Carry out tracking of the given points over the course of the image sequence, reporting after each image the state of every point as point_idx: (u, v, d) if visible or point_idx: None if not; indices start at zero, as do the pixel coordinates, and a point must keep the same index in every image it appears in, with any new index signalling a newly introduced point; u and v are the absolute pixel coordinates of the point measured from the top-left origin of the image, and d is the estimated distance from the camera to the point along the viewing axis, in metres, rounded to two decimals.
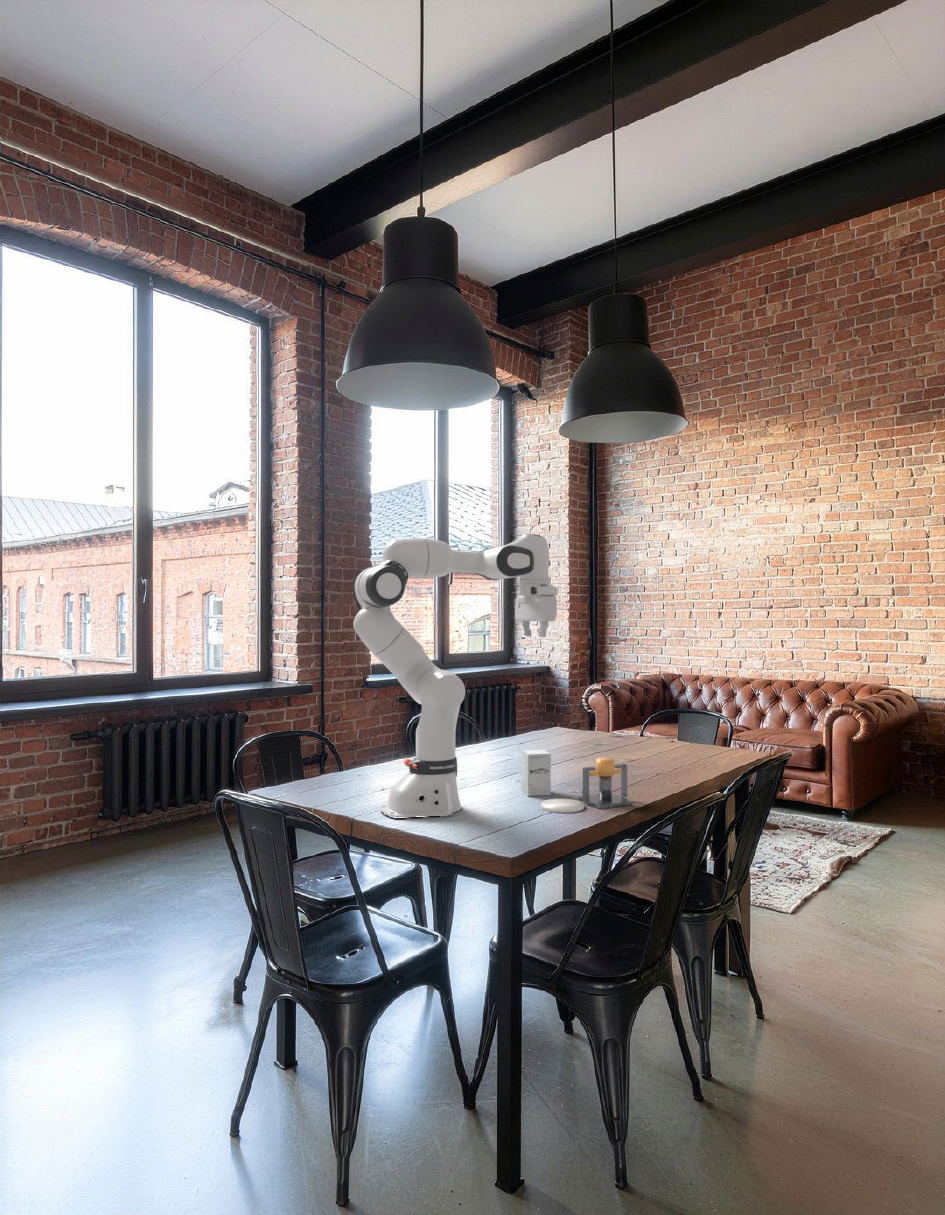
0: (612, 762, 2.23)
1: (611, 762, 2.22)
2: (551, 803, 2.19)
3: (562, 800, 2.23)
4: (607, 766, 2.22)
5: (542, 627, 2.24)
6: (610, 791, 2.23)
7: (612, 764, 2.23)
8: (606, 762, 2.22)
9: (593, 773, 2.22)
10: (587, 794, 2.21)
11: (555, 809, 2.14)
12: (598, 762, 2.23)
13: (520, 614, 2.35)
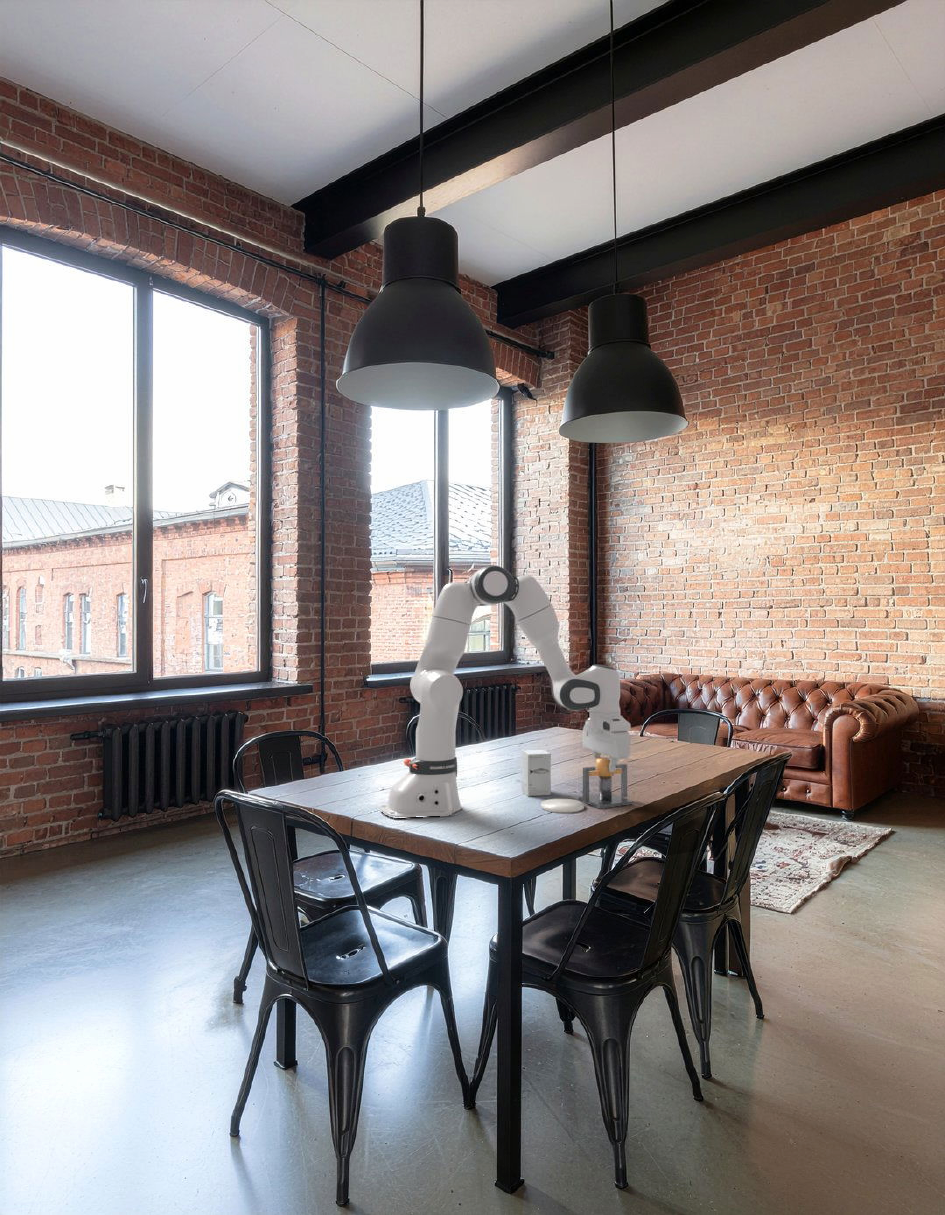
0: None
1: None
2: (551, 803, 2.19)
3: (562, 800, 2.23)
4: None
5: (612, 762, 2.20)
6: (610, 791, 2.23)
7: None
8: (606, 762, 2.22)
9: (593, 773, 2.22)
10: (587, 794, 2.21)
11: (555, 809, 2.14)
12: (598, 762, 2.23)
13: (589, 744, 2.29)
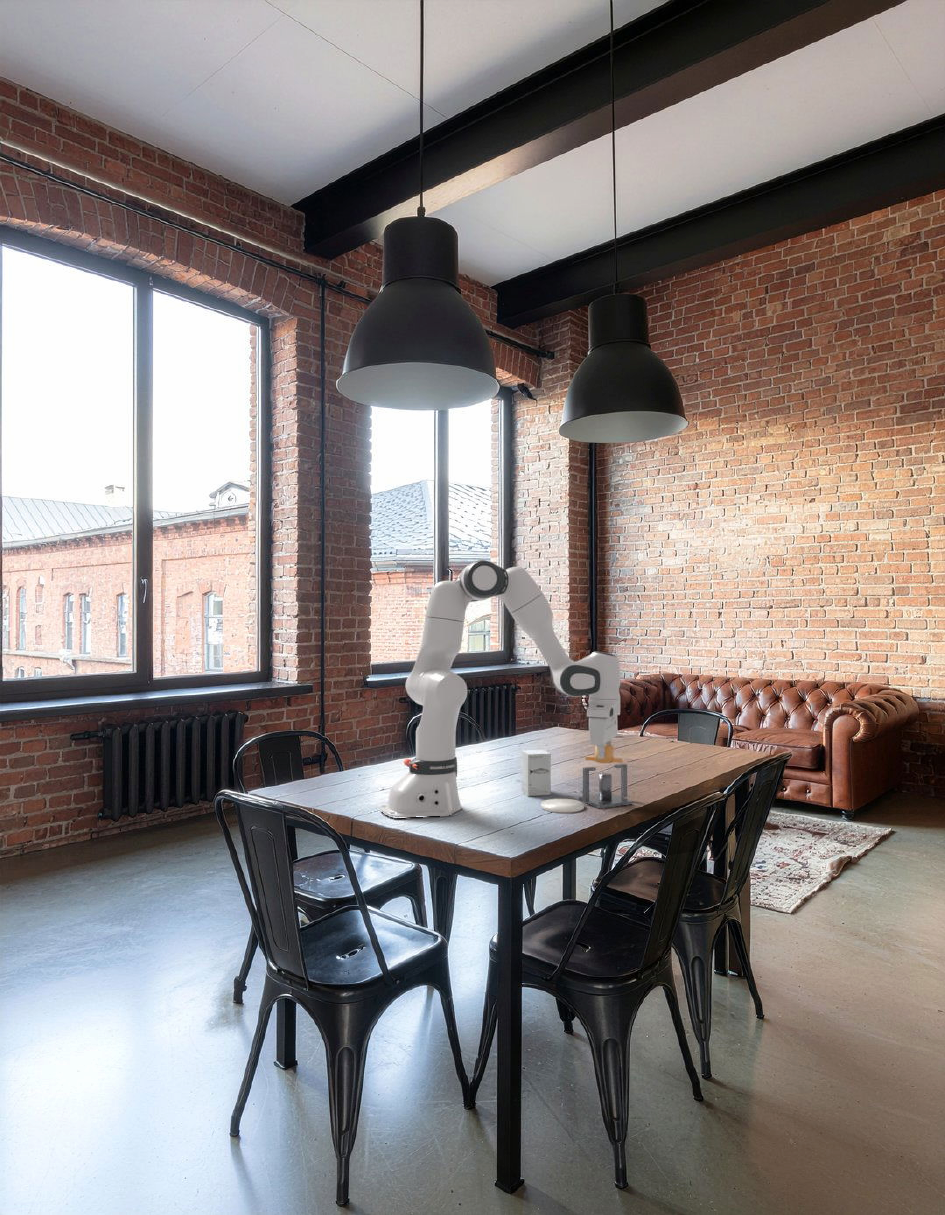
0: (605, 749, 2.22)
1: None
2: (551, 803, 2.19)
3: (562, 800, 2.23)
4: None
5: (598, 748, 2.20)
6: (610, 791, 2.23)
7: (605, 751, 2.22)
8: None
9: (588, 757, 2.25)
10: (587, 794, 2.21)
11: (555, 809, 2.14)
12: (595, 748, 2.25)
13: None
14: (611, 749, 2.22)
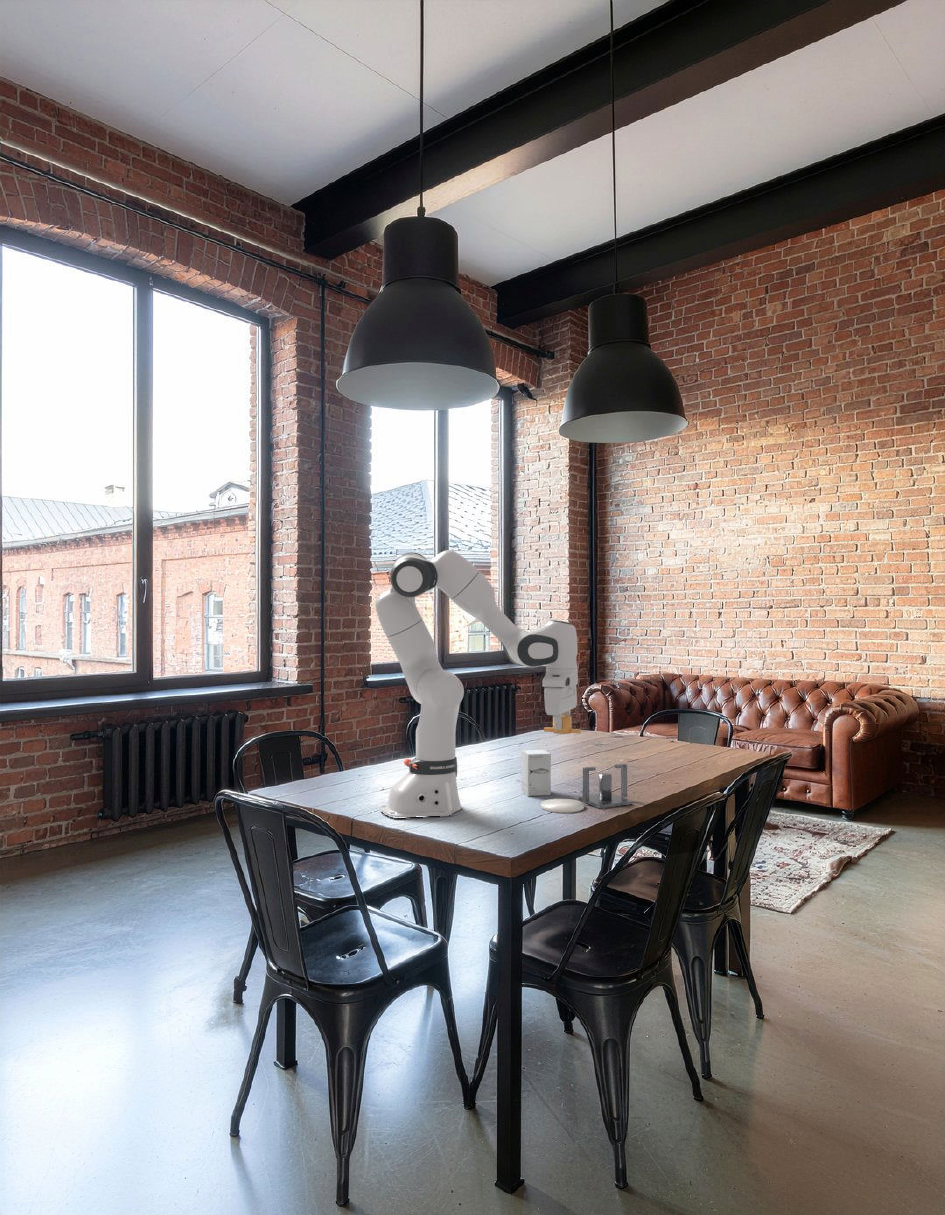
0: (563, 720, 2.17)
1: None
2: (551, 803, 2.19)
3: (562, 800, 2.23)
4: None
5: (555, 719, 2.15)
6: (610, 791, 2.23)
7: (563, 722, 2.17)
8: None
9: (546, 729, 2.20)
10: (587, 794, 2.21)
11: (555, 809, 2.14)
12: None
13: None
14: (569, 720, 2.17)
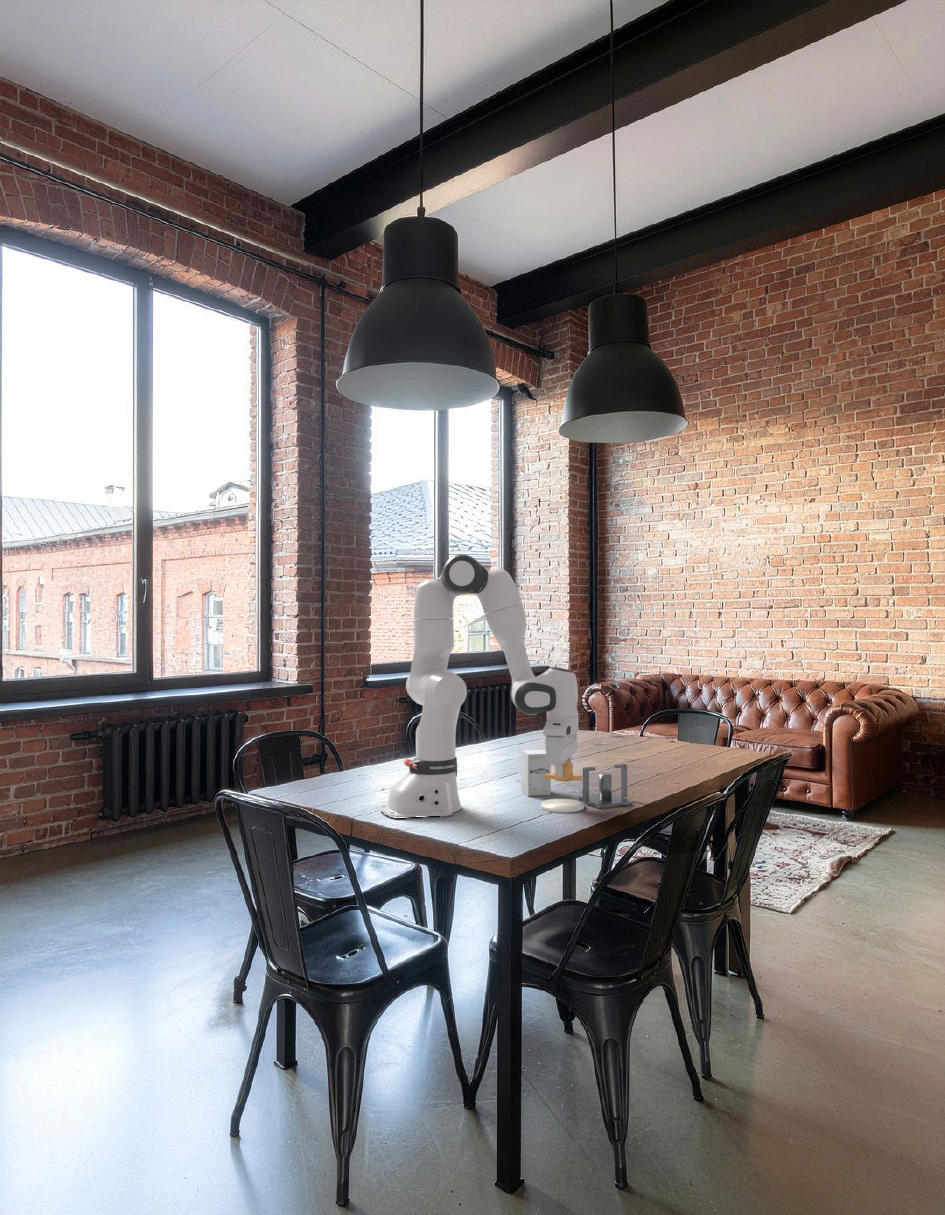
0: (564, 767, 2.17)
1: None
2: (551, 803, 2.19)
3: (562, 800, 2.23)
4: None
5: (556, 767, 2.15)
6: (610, 791, 2.23)
7: (564, 769, 2.17)
8: None
9: (548, 776, 2.20)
10: (587, 794, 2.21)
11: (555, 809, 2.14)
12: None
13: None
14: (570, 767, 2.17)
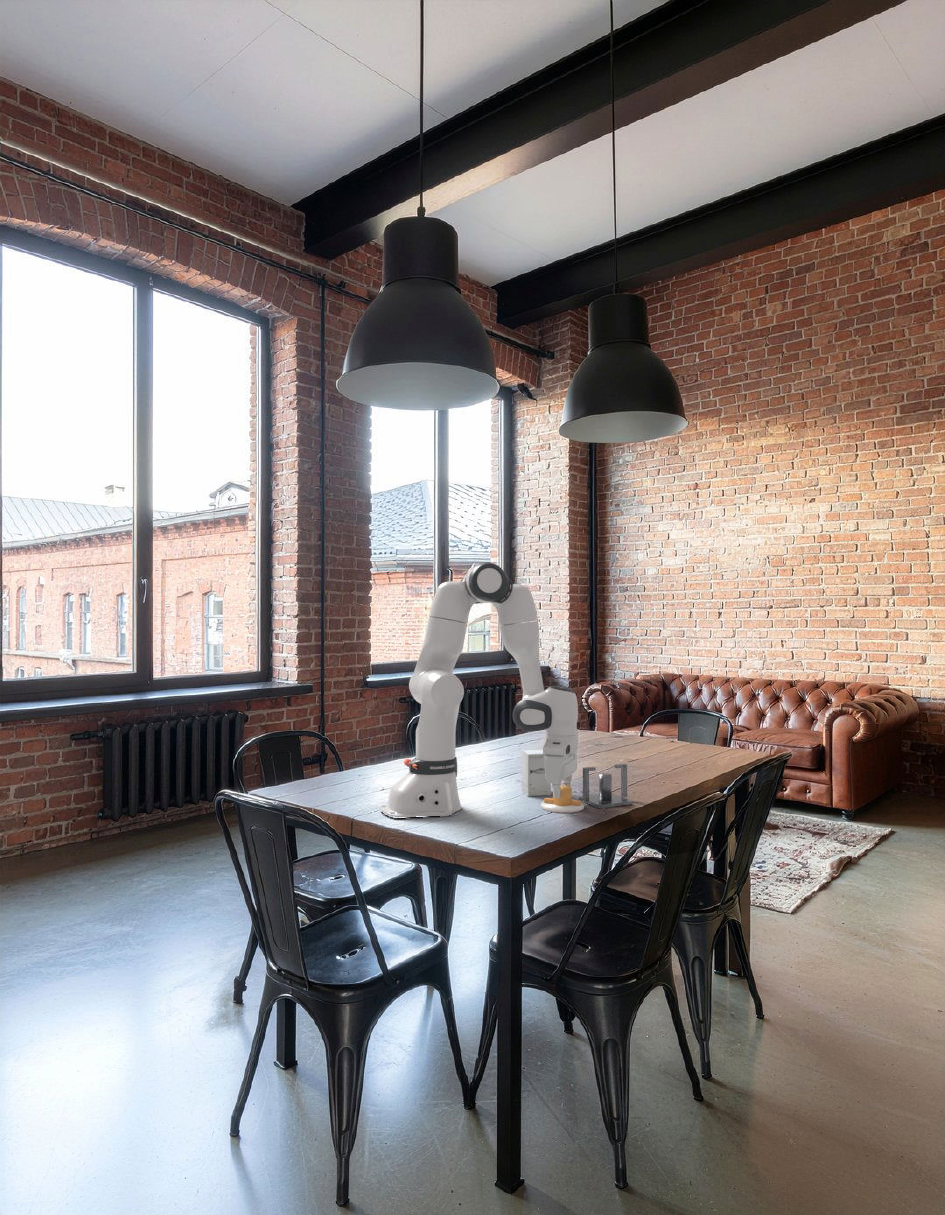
0: (563, 792, 2.17)
1: (561, 791, 2.17)
2: (551, 803, 2.19)
3: None
4: None
5: (553, 787, 2.14)
6: (610, 791, 2.23)
7: (563, 794, 2.17)
8: None
9: (546, 800, 2.20)
10: (587, 794, 2.21)
11: (555, 809, 2.14)
12: None
13: None
14: (569, 791, 2.17)
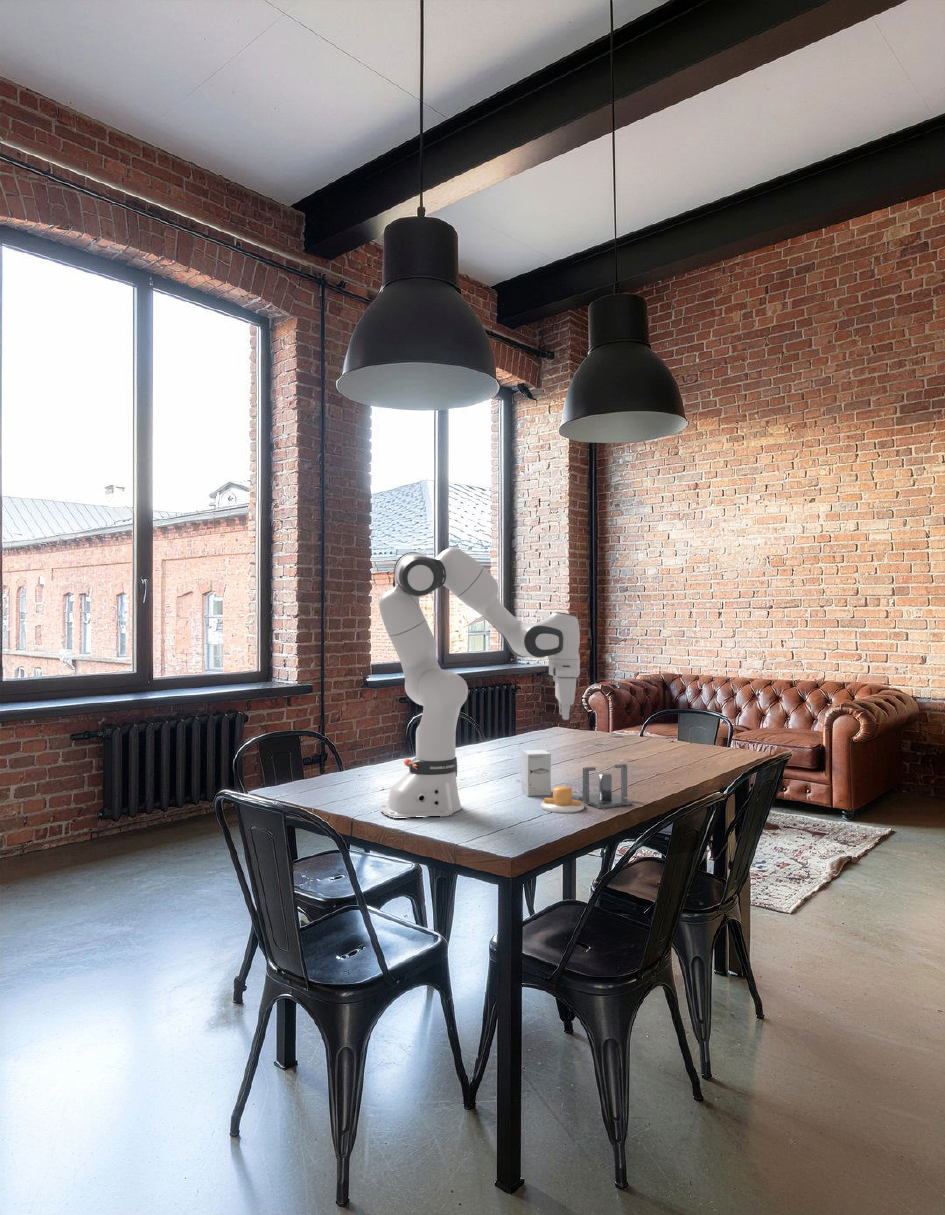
0: (563, 792, 2.17)
1: (561, 791, 2.17)
2: (551, 803, 2.19)
3: None
4: (557, 795, 2.17)
5: (563, 709, 2.18)
6: (610, 791, 2.23)
7: (563, 794, 2.17)
8: (556, 791, 2.17)
9: (546, 800, 2.20)
10: (587, 794, 2.21)
11: (555, 809, 2.14)
12: (553, 790, 2.20)
13: (556, 692, 2.30)
14: (569, 791, 2.17)
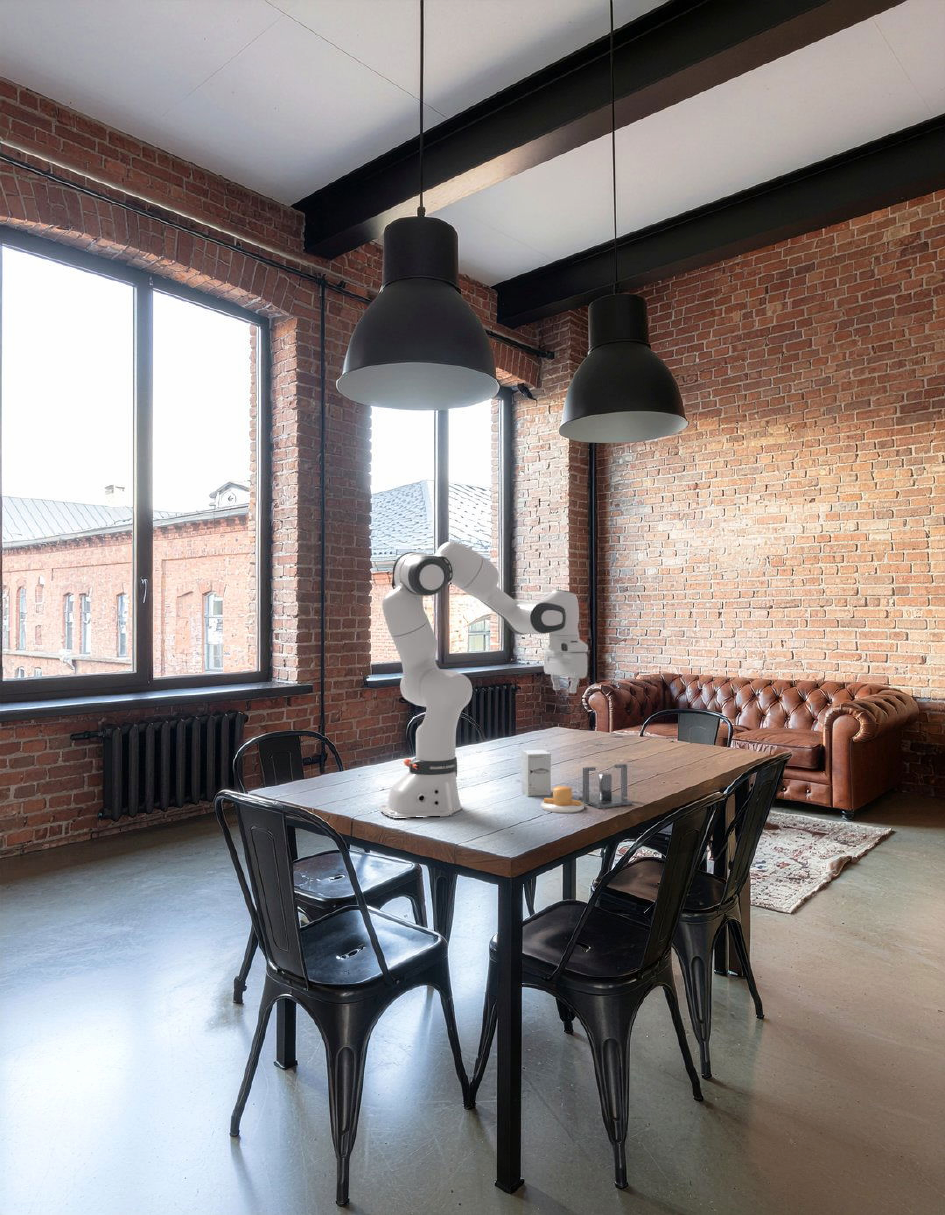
0: (563, 792, 2.17)
1: (561, 791, 2.17)
2: (551, 803, 2.19)
3: None
4: (557, 795, 2.17)
5: (572, 683, 2.26)
6: (610, 791, 2.23)
7: (563, 794, 2.17)
8: (556, 791, 2.17)
9: (546, 800, 2.20)
10: (587, 794, 2.21)
11: (555, 809, 2.14)
12: None
13: (550, 668, 2.37)
14: (569, 791, 2.17)
